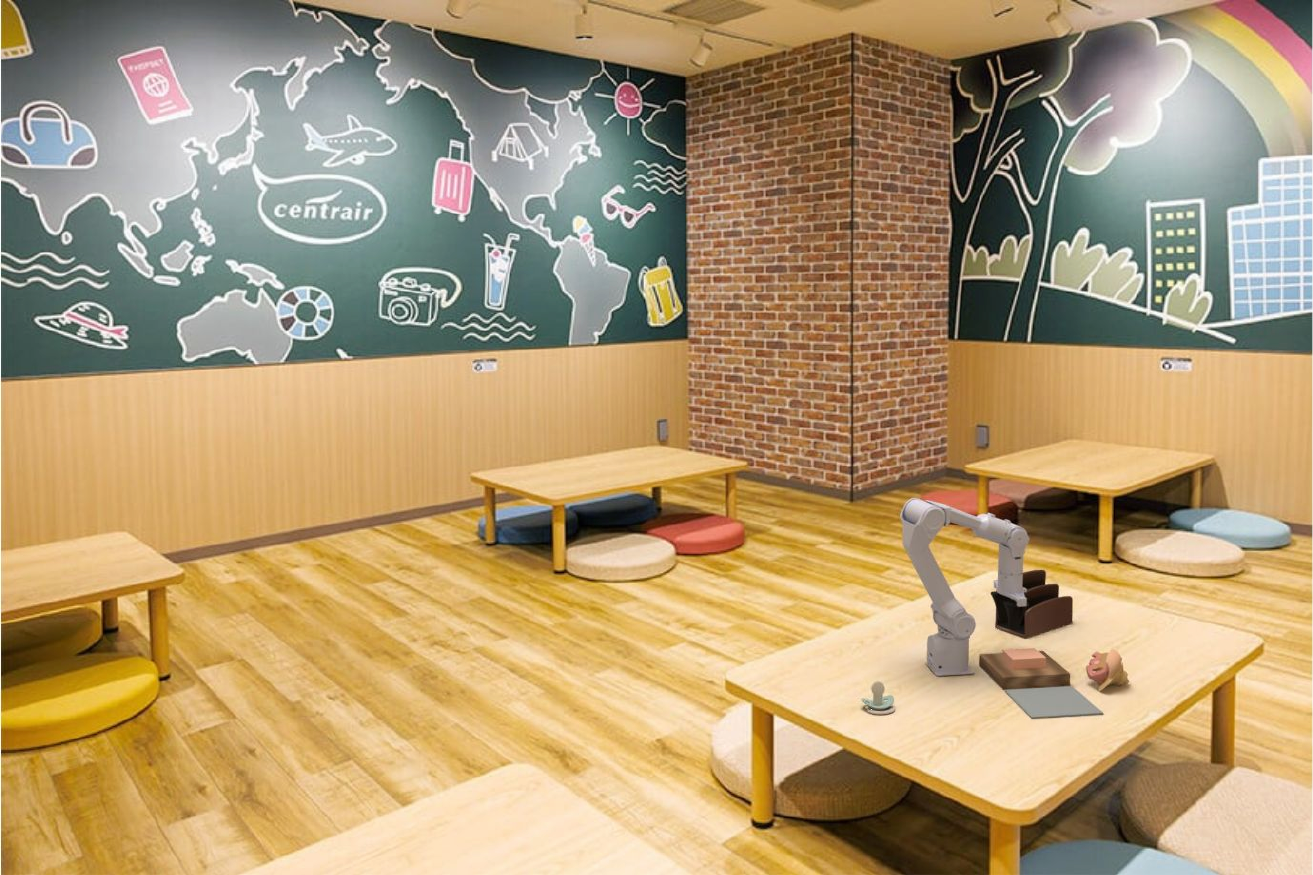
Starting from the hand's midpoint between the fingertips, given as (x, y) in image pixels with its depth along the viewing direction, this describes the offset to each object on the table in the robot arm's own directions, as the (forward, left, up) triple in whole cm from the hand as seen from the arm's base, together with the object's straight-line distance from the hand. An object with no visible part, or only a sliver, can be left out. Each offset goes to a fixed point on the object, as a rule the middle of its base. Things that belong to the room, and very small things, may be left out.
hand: (1008, 624), depth 240 cm
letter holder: (+17, +22, -10) cm, 29 cm away
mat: (0, -24, -9) cm, 26 cm away
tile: (0, -9, -6) cm, 11 cm away
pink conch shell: (+16, -17, -10) cm, 25 cm away
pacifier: (-39, -22, -10) cm, 46 cm away
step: (0, -9, -9) cm, 13 cm away
